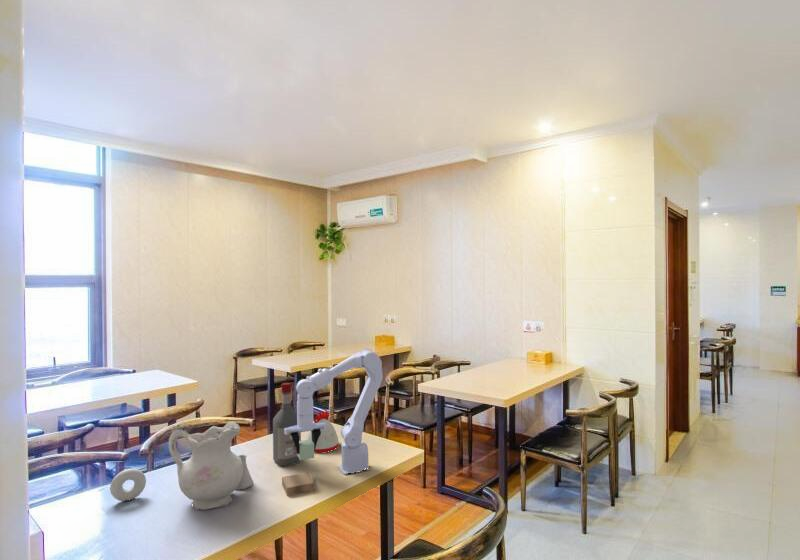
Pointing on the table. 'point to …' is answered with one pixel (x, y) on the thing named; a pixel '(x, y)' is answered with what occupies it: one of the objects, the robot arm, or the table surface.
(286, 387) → the liquor
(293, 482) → the walnut base
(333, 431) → the white bell
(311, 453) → the sage cube
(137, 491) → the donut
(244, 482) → the flask
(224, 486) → the ceramic pitcher
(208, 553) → the table surface
